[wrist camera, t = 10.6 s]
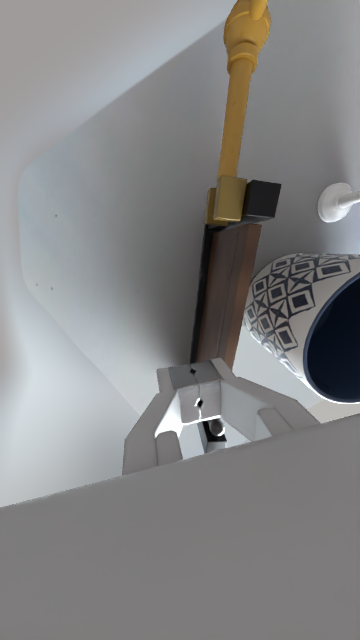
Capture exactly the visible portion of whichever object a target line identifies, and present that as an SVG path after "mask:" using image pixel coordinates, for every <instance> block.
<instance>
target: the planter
mask: <svg viewBox="0 0 360 640" xmlns="http://www.w3.org/2000/svg"><path fill="white" fill-rule="evenodd" d="M244 320H245V324H246V327H247V329H248V331H249V332H250V334H251V335H252V336H253V337H254V338H255V339H256V340H257V341H258V342H259V343H260V344H261V345H262V346H263V347H264V348H266V349H267V350H268V351H269V352H270V353H271V354H272V355H273V356H274V357H276V358H277V359H278V360H279V361H280V362H281V363H282V364H283V365H284V366H286V367H287V368H288V369H289V370H290V371H291V372H292V373H293V374H295V375H296V376H297V377H298V378H299V379H300V380H301V381H302V382H304V383H305V384H306V385H307V386H308V387H309V388H311V389H312V390H313V391H314V392H315V393H316V394H318V395H319V396H321V397H322V398H324V399H327V400H330V401H332V402H338V403H348V404H351V403H360V255H354V254H314V253H295V254H290V255H286V256H283V257H281V258H278V259H277V260H275V261H273V262H271V263H270V264H269V265H267V266H266V267H265V268H264V269H263V270H262V271H261V272H260V273H259V274H258V275H257V276H256V277H255V279H254V280H253V282H252V283H251V285H250V287H249V291H248V296H247V301H246V306H245V310H244Z"/></svg>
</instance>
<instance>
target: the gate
mask: <svg viewBox="0 0 360 640" xmlns="http://www.w3.org/2000/svg"><path fill="white" fill-rule="evenodd" d="M261 227H262V225H259V224H251V223H249V224H245V225H241V226H238V227H234V228H230V229H227V230H223V231H219V232H216V233H213V239H212V246H211V254H210V261H209V269H208V276H207V284H206V292H205V299H204V307H203V314H202V322H201V329H200V337H199V345H198V352H197V360H196V363H197V362H202V361H207V360H211V359H215V358H222V360H223V361H224V362H225V363H226V365H227V366H228V367H229V369H230V370H231V371H232V370H233V365H234V360H235V355H236V350H237V345H238V340H239V335H240V330H241V325H242V320H243V315H244V310H245V306H246V301H247V296H248V291H249V286H250V281H251V276H252V271H253V266H254V261H255V256H256V251H257V246H258V241H259V236H260V232H261ZM206 421H207V422H208V423H209V426H210V431H211V433H212V434H213V435H215V436H221V435H222V434H223V433H224V430H225V427H224V424H223V422H222V421H221V417H218V418H214V419H209V420H206Z"/></svg>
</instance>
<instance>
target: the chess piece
mask: <svg viewBox="0 0 360 640" xmlns="http://www.w3.org/2000/svg"><path fill="white" fill-rule="evenodd" d="M358 202H360V192H352V189H351V188H350V186H349V185H347V184H345V183H336V184H332V185H330V186H329V187H327V188H326V189H325V190H324V191H323V193H322V194H321V196H320V198H319V201H318V206H317V209H318V214H319V216H320V218H321V219H322V220H323V221H325V222H334V221H337V220H340V219H341V218H343V217H344V216H345V215H346V214H347V213H348V212H349V210H350V208H351V206H352V204H355V203H358Z"/></svg>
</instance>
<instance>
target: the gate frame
mask: <svg viewBox="0 0 360 640" xmlns="http://www.w3.org/2000/svg"><path fill="white" fill-rule="evenodd" d="M280 189H281V184H278V183H271V182H265V181H258V180H252V181H250V182H249V183H248V184H247V179H244V178H237V177H230V176H223V175H222V176H220V177H219V179H218V181H217V188H213V187H210V188H209V189H208V192H207V201H206V210H205V220H204V224H205V228H204V237H203V246H202V255H201V264H200V273H199V282H198V291H197V300H196V309H195V318H194V327H193V336H192V345H191V354H190V363H189V364H192V363H196V360H197V352H198V345H199V337H200V329H201V322H202V314H203V307H204V299H205V292H206V284H207V276H208V269H209V261H210V254H211V246H212V239H213V233H216V232H219V231H223V230H227V229H230V228H234V227H238V226H241V225H245V224H249V223H251V224H254V223H258V222H261V221H265V220H269V219H273V218H274V217H275V212H276V208H277V203H278V198H279V194H280ZM197 425H198V429H199V433H200V437H201V441H202V445H203V449H204V453H205V454H207V453H211V452H214V451H218V450H222V449H225V447H226V443H227V440H226V438H225V435H224V433H223V434H222V435H221V436H215V435H213V434H212V433H211V431H210V426H209V423H208V422H207V421H206V420H204V421H199V422H197Z"/></svg>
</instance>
